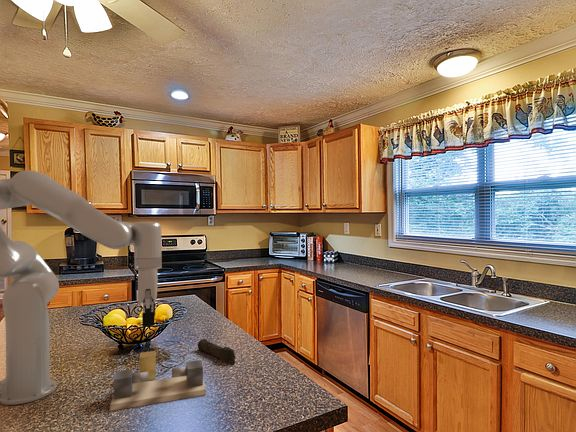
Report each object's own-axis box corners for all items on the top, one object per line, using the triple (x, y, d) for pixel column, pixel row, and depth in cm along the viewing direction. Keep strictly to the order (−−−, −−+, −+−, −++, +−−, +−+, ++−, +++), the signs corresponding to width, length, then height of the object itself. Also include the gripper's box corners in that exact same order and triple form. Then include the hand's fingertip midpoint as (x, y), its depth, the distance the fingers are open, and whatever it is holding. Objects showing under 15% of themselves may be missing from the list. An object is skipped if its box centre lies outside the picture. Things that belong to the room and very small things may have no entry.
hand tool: (197, 351, 125) (196, 338, 125) (206, 348, 128) (206, 335, 128) (227, 368, 111) (227, 353, 111) (237, 364, 114) (237, 350, 114)
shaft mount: (110, 410, 86) (110, 384, 86) (115, 391, 96) (115, 367, 96) (205, 394, 94) (205, 370, 94) (201, 378, 104) (201, 356, 104)
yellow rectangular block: (139, 382, 102) (139, 357, 102) (140, 376, 105) (140, 352, 105) (155, 379, 103) (155, 355, 103) (155, 373, 107) (155, 350, 107)
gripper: (136, 260, 111) (137, 314, 111) (132, 268, 95) (133, 331, 95) (161, 259, 114) (162, 312, 114) (161, 266, 97) (162, 328, 97)
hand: (149, 321), depth 104 cm, fingers open, 9 cm apart
